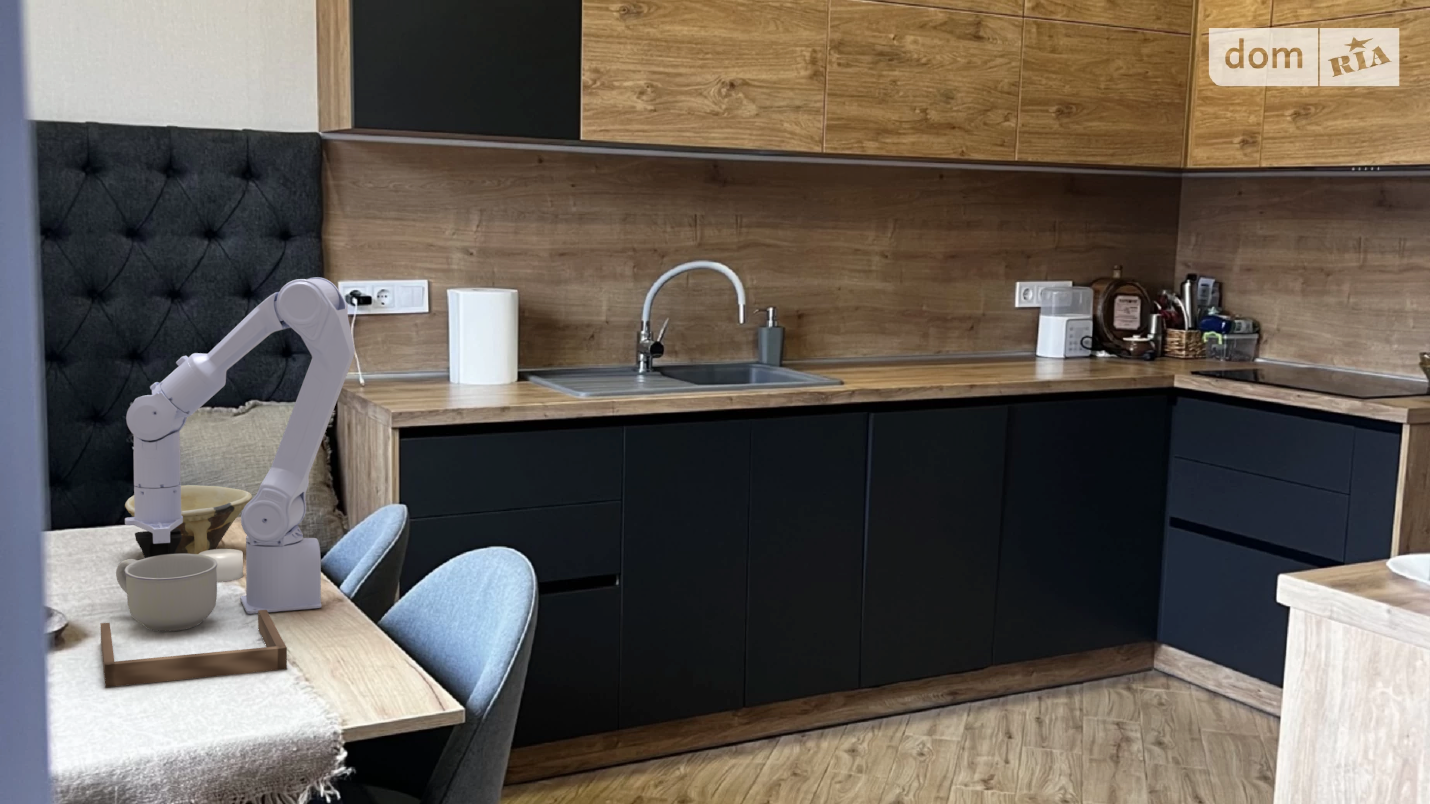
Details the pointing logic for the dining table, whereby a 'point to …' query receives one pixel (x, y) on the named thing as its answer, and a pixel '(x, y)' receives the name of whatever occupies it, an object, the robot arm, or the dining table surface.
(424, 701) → the dining table surface
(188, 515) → the bowl
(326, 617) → the dining table surface
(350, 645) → the dining table surface
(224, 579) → the white frosted puck
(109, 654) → the corral
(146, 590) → the teacup
